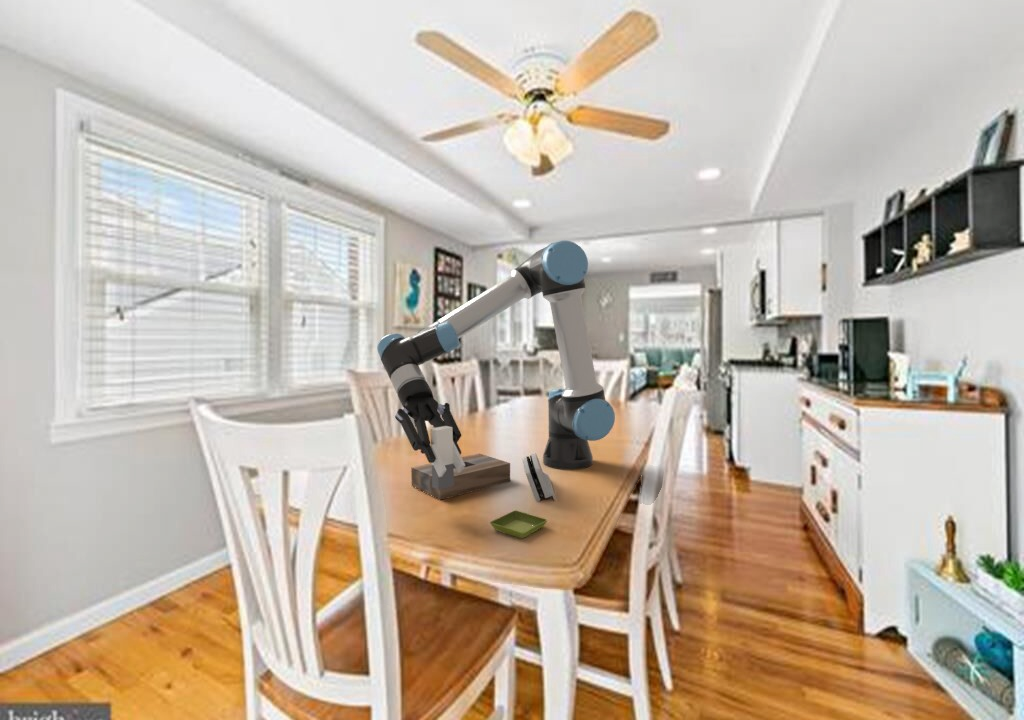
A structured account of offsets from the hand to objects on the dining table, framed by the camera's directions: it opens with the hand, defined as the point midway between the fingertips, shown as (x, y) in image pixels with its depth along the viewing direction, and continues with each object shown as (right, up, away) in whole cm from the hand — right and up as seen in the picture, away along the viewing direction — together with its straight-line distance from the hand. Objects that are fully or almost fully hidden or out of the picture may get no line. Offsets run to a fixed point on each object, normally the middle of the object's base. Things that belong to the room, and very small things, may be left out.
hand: (452, 470), depth 102 cm
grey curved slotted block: (+19, -10, +20) cm, 29 cm away
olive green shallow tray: (+14, -11, -4) cm, 19 cm away
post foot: (-1, -9, +25) cm, 27 cm away
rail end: (-2, -4, +3) cm, 6 cm away
